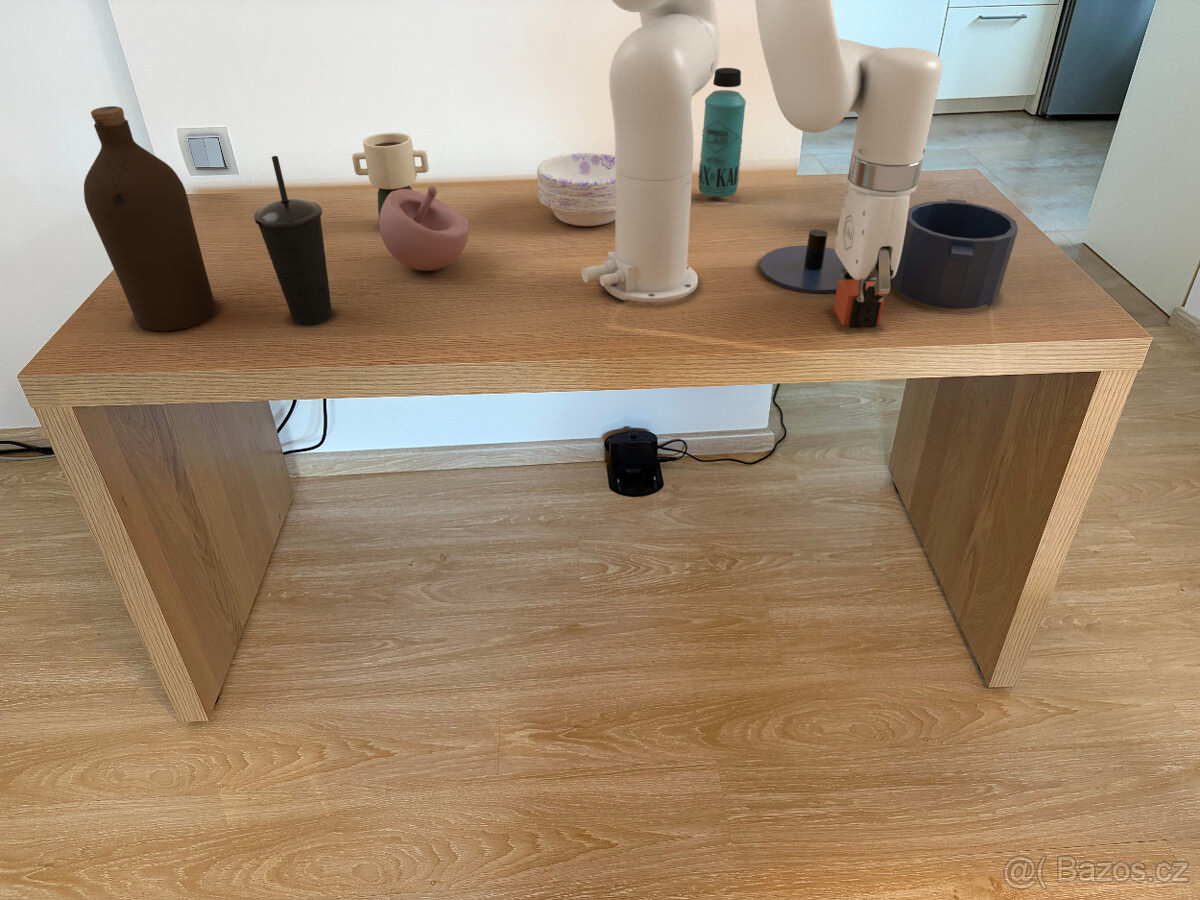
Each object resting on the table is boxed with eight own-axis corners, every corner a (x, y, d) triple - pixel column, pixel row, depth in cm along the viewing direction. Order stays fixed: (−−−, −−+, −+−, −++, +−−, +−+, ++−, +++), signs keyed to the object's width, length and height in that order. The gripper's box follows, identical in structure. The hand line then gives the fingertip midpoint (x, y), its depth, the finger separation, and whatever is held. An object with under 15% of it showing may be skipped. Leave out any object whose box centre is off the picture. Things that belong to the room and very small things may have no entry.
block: (878, 328, 103) (885, 294, 100) (842, 329, 102) (848, 295, 100) (867, 311, 106) (874, 278, 103) (832, 312, 106) (838, 279, 103)
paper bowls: (625, 195, 140) (625, 147, 135) (644, 230, 128) (646, 178, 123) (534, 202, 138) (531, 153, 133) (545, 238, 126) (542, 185, 121)
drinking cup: (284, 335, 102) (241, 171, 90) (277, 309, 108) (236, 151, 96) (348, 323, 105) (314, 162, 93) (338, 298, 110) (304, 143, 98)
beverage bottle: (697, 191, 141) (706, 63, 129) (737, 193, 140) (749, 64, 128) (696, 205, 136) (704, 73, 124) (737, 207, 135) (749, 74, 123)
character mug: (437, 214, 134) (426, 130, 126) (434, 232, 128) (423, 145, 120) (367, 218, 133) (352, 133, 125) (361, 235, 127) (345, 148, 119)
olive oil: (233, 317, 106) (171, 111, 91) (145, 343, 101) (64, 129, 86) (205, 288, 113) (142, 92, 98) (121, 312, 108) (42, 108, 93)
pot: (991, 266, 117) (1010, 199, 111) (1001, 328, 102) (1024, 255, 97) (892, 255, 120) (906, 189, 114) (889, 314, 105) (905, 242, 100)
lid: (868, 259, 119) (876, 218, 115) (863, 303, 108) (871, 260, 104) (766, 248, 122) (771, 208, 119) (752, 290, 111) (756, 247, 108)
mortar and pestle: (470, 283, 114) (461, 200, 107) (381, 287, 113) (366, 204, 106) (475, 247, 123) (467, 169, 116) (392, 250, 123) (379, 172, 116)
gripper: (830, 149, 100) (809, 289, 111) (873, 200, 86) (843, 354, 97) (893, 147, 100) (865, 288, 111) (945, 198, 87) (908, 352, 98)
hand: (855, 317), depth 104 cm, fingers closed on block, 4 cm apart
